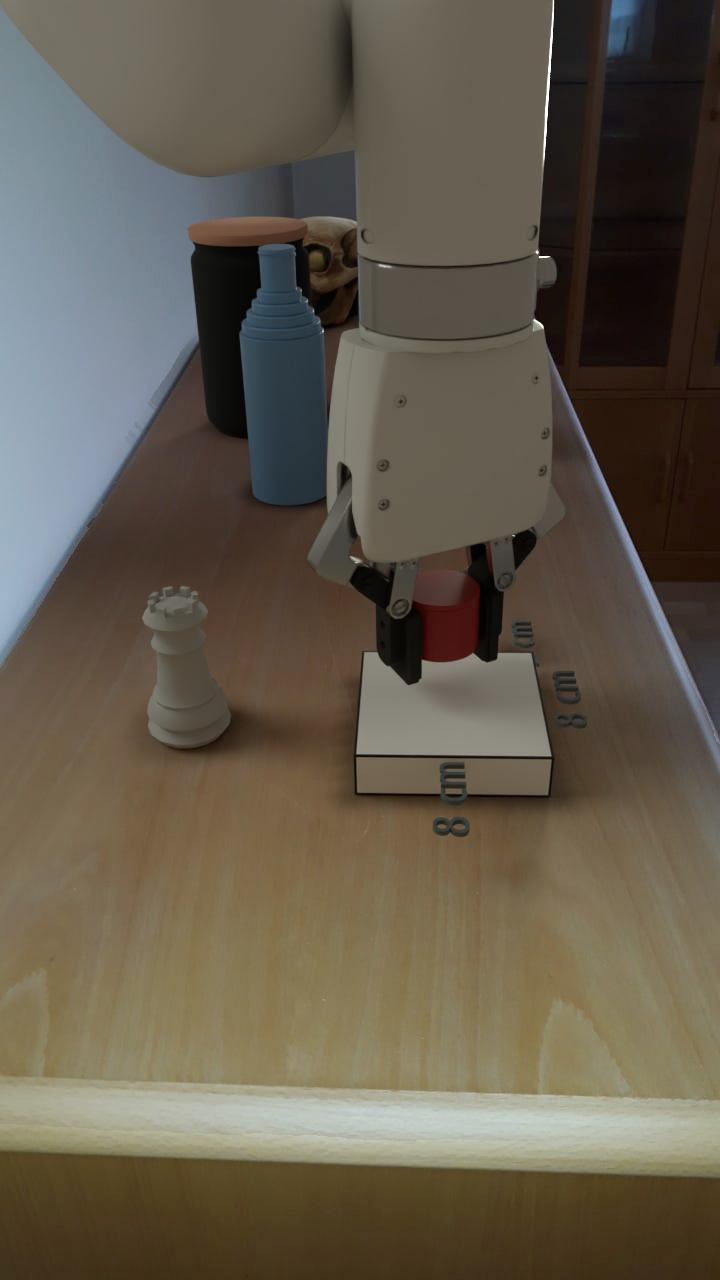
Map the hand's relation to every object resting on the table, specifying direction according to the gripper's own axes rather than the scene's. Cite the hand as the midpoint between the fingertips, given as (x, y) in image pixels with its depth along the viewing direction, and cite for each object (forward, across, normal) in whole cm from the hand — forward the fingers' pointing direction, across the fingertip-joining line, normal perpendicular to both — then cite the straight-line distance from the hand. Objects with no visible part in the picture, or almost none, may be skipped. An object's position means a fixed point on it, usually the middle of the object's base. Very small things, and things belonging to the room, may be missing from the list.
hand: (439, 657), depth 51 cm
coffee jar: (+4, -9, -51) cm, 52 cm away
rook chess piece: (+4, +12, -5) cm, 14 cm away
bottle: (+4, -5, -34) cm, 34 cm away
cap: (-1, 0, 0) cm, 1 cm away
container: (+4, -1, +2) cm, 5 cm away
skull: (+4, -32, -90) cm, 95 cm away
